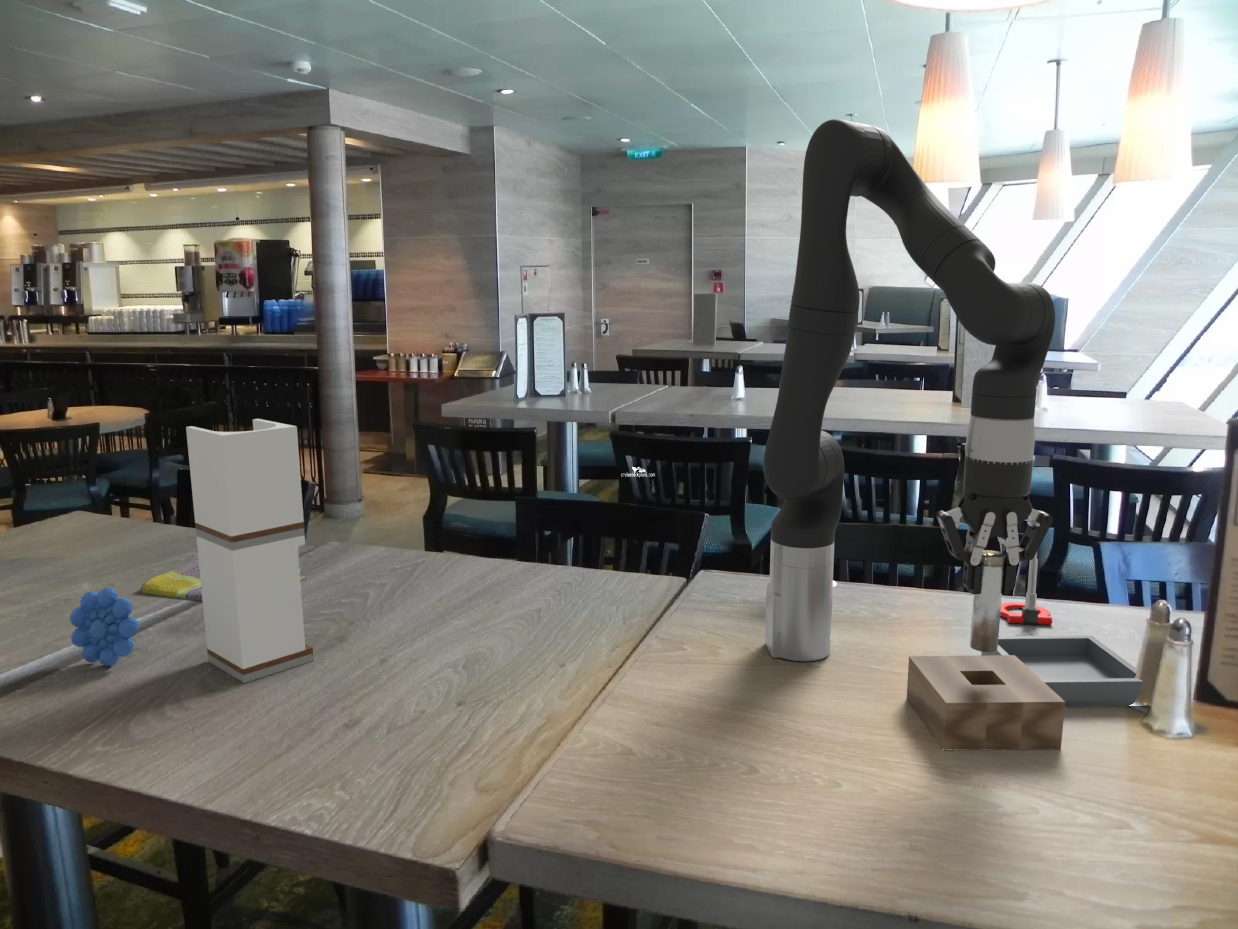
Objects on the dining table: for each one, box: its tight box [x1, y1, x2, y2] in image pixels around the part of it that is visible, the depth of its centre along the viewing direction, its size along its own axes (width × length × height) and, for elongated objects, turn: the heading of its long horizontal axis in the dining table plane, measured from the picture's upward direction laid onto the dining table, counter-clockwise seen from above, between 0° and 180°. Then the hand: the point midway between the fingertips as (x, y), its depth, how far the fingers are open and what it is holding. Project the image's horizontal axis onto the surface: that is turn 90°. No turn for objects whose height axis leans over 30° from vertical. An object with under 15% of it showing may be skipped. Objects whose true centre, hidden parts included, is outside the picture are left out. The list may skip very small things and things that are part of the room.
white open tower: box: [185, 418, 315, 684], centre depth 136 cm, size 11×11×35 cm
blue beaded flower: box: [69, 587, 140, 667], centre depth 138 cm, size 12×7×12 cm, turn 75°
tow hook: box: [1000, 552, 1053, 626], centre depth 155 cm, size 8×13×9 cm
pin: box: [969, 549, 1005, 653], centre depth 116 cm, size 3×3×12 cm
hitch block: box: [906, 655, 1066, 751], centre depth 118 cm, size 14×14×6 cm
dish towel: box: [140, 558, 306, 602], centre depth 174 cm, size 18×24×3 cm
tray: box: [980, 635, 1143, 708], centre depth 130 cm, size 16×16×4 cm
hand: (988, 591), depth 115 cm, fingers closed on pin, 3 cm apart
